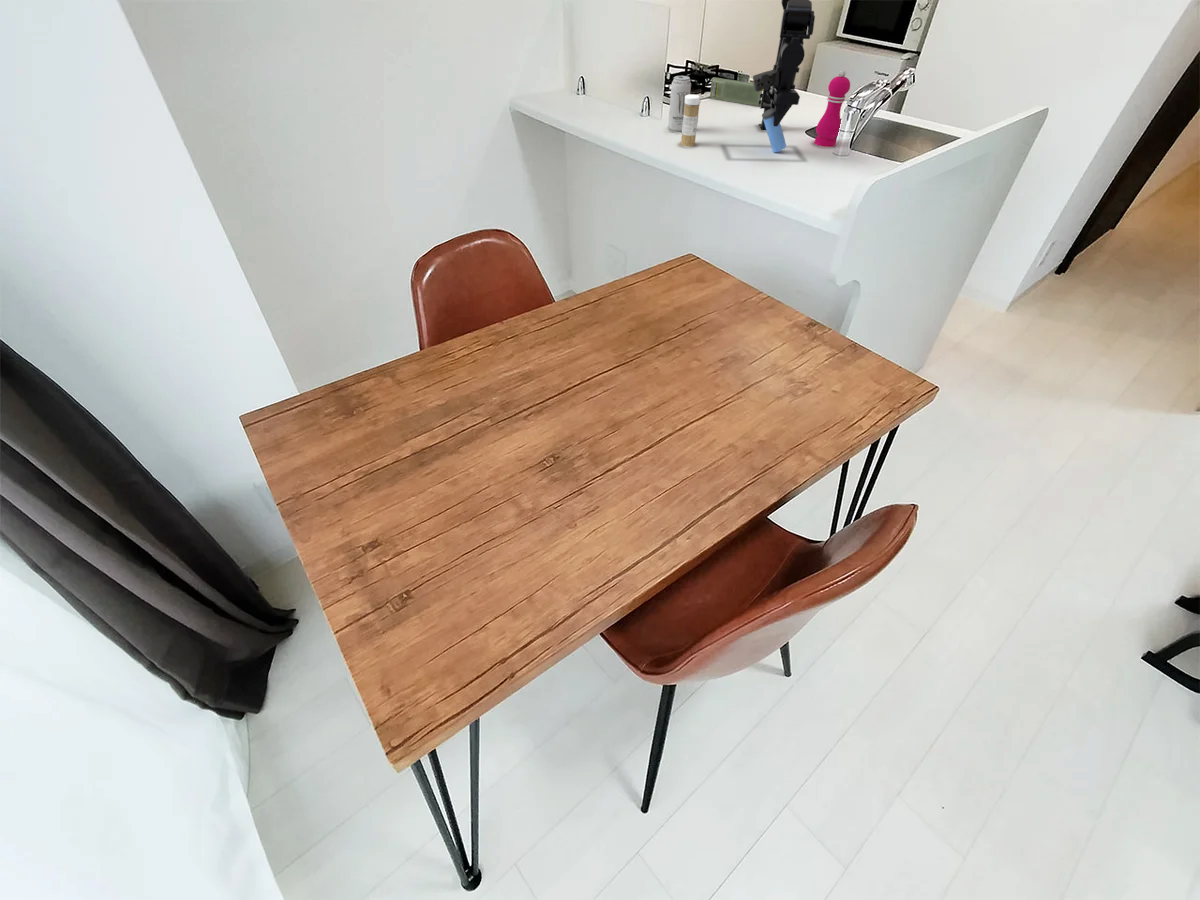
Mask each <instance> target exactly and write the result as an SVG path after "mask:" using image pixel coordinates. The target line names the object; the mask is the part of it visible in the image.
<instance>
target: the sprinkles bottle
mask: <svg viewBox="0 0 1200 900" xmlns="http://www.w3.org/2000/svg"><path fill="white" fill-rule="evenodd" d="M701 98H702V97H701V95H699V94H691V93H690V95H686V96H685V109H684V118H683V126H682V132H681V138H680V139H681V140H680V145H681V146H683V147H694V146H696V137H697V131H698V122H699V111H700V104H701V100H702V99H701Z"/></svg>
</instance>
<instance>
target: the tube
mask: <svg viewBox="0 0 1200 900" xmlns="http://www.w3.org/2000/svg"><path fill="white" fill-rule="evenodd" d="M774 112H775V108H772V109H769V110H767V111H765V112H764V111H763V113H762V114H761V117H762V118H763V120H764V124H765V127H766V130H765V131H766V133H767V137H768V139H769V144H770V145H771V146H770V147H771V150H772V153H780V152H781V151H783V150H784V149H785V148H786V147H787V143H786V140H785V136H784V133H783V129H782V125H781V122H780V123H779V125H778V126H777V127H776V126H774ZM762 118H761V119H762Z"/></svg>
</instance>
